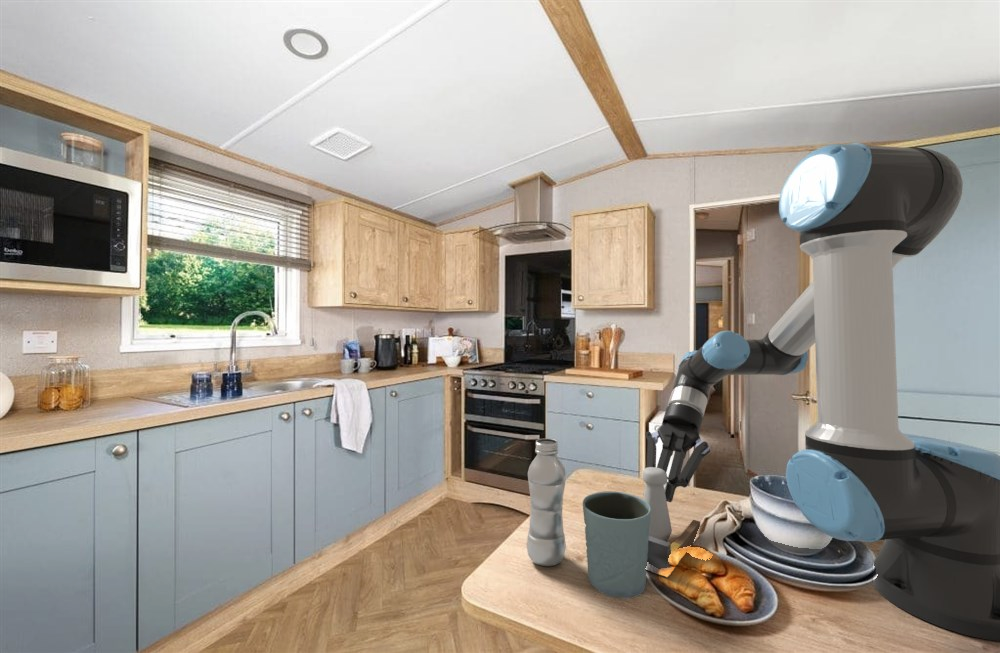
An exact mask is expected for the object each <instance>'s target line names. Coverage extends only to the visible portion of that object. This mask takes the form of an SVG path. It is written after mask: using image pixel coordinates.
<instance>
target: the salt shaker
mask: <svg viewBox="0 0 1000 653" xmlns="http://www.w3.org/2000/svg"><path fill="white" fill-rule="evenodd" d="M646 467H647V466H646ZM646 467H645V468H644V469H643V470H642V481H643V482H644V483H645V486H644V490H643V491H644V492H643V497H642V499H643V500H644V501H646V502H647V503H648V504H649V505H650V507H651V518H650V527H649V536H651V537H654V538H657V539H660V540H663V541H666V542H668V540H669V538H670V536H671V535H672V532H673V529H672V523H671V518H670V513H669V512H670V511H669V508H668V502H667V501H666V495H665V490H664V484H666V483H667V482H668V479H667V477H668V474H667V472H665V471H664V470H663V469H660V468H657V466H656V467H647V468H646Z"/></svg>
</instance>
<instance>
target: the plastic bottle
mask: <svg viewBox="0 0 1000 653" xmlns="http://www.w3.org/2000/svg"><path fill="white" fill-rule="evenodd" d="M558 442H559V441H558V440H557V439H555V438H554V439H553V438H539V439H537V440H535V450H534V452H535V454H536V456H535V457H534V459H533V460H532V461H531V463H530V464H529V467H528V470H527V481H528V488H529V496H530V497H529V498H530V500H529V501H530V502H529V504H530V515H529V516H530V518H529V528H528V534H527V539H526V549H527V550H526V552H527V556H528V557H529V559H530V560H531V561H532V563H534V564H536V565H537V566H542V567H552V566H556V565H558V564H560V563H561V562H562V560H563V559H564V557H565V555H566V550H567V549H566V548H567V542H566V536H565V532H564V520H563V519H564V518H563V508H564V507H563V505H564V504H563V503H564V493H565V487H566V480H567V472H566V467H565V466H564V464H563V462H562V461H561V459H560V458H559V457H558V454H559V448H558V447H559V446H558V445H559V444H558Z"/></svg>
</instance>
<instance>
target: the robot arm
mask: <svg viewBox="0 0 1000 653" xmlns="http://www.w3.org/2000/svg"><path fill="white" fill-rule="evenodd" d="M963 184H964V182H963V177H962V175H961V171H960V169H959V168H958V166H957V164H956V163H955V162H954V161H953V160H952V159H951V158H949V157H948V156H947V155H945V154H943V153H942V152H939V151H936V150H934V149H930V148H926V147H925V148H924V147H900V146H899V147H898V146H886V145H885V146H884V145H867V144H864V143H861V142H853V143H852V142H851V143H847V144H846V143H845V144H843V143H841V144H840V143H838V144H837V143H835V144H834V143H833V144H828V145H825V146H822V147H819V148H816V149H815V150H813V151H812V152H810V153H808V154H807V155H806V156H805V157H804V158H802V159H800V161H799V162H798V163H797V164H796V165H795V167H794V168H793V170H792V171H791V173H790V174H789V176H788V177H787V178H786V180H785V182H784V184H783V186H782V189H781V192H780V195H779V201H778V214H779V216H780V220H781V221H782V222H784V223H785V225H786V227H788V228H789V229H791V230H793V231H795V232H799V234H798V236H799V249H800V250H801V251H802V252H804V253H805V254H807V255H808V256H809V257H810V258H811V259H812V276H813V280H812V281H811V283H810V284H809V285H808V286H807V287H806V288H805V290H804V291H803V292H802V293H801V294H800V296H799V297H797V299H796V300H794V302H793V303H792V305H791V306H790V307H789V308H788V309H787V310H786V312H785V313H784V314H783V315H782V316H781V317H780V318H779V319H778V320H777V322H775V324H774V325H773V326H772V328H771V329H769V331H768V332H767V333H766V334H765V335H764V336H763V337H762V338H761V339H745V338H744V337H743V336H742V335H741V334H739V333H736V332H734V331H732V330H723V331H722V330H721V331H720V332H719V331H718V332H717V333H715V335H713V336H712V337H710V338H708V340H706V341H705V342H704V344H703V345H702V346H701V347H700V348H698V350H692V351H687V352H686V353H685V354H684V355H683V356H682V359H681V361H680V363H679V364H678V369H677V373H676V376H675V379H674V383H673V387H672V391H671V392H670V393H671V394H670V395H669V399H668V402H667V407H666V409H665V412H664V415H663V418H662V423H661V424H660V426H659V427H658V429H657V430H656V431H654V432H650V431H646V432H645V433H644V434H645V437H646V440H647V448H646V451H647V452H646V466H645V468H647V467H656V468H660V469H663V470H664V471H665V472H666V473H667V472H668V468H669V465H670V460H671V457H672V456H673V458H672V462H671V466H670V470H669V473H668V475H667V483H666V484H664V490H665V495H666V501H667V503H672V502H673V500H674V495H675V492H676V489H677V488H678V487H682V488H687V487H688V485H689V484H690V481H691V480H692V479H693V476H694V474H695V473H696V471H697V469H698V467H699V465H700V463H701V462H702V460H703V458H704V457H706V456H707V455H708V454H709V453H710V452H711V448H710V446H709V443H708V442H707V441H703V440H702V439H701V436H700V431H701V429H702V424H703V418H704V417H705V416H704V415H705V413H706V412H705V411H706V408H707V405H708V401H709V396H710V393H711V389H712V388H713V386H714V385H716V384H717V383H719V382H720V381H722V380H723V379H725V377H727V376H748V375H749V376H753V375H755V376H757V375H758V376H759V375H763V376H764V375H767V376H768V375H769V376H770V375H775V376H785V375H791V374H792V375H793V374H799V373H800V372H802V371H803V370H805V368H806V367H807V362H808V361H809V353H808V352H809V351H808V350H810V348H812V347H813V346H814V345H815V346H814V347H815V374H816V375H815V376H816V378H815V379H816V381H815V382H816V404H817V406H816V408H817V409H816V410H817V412H816V413H817V421H816V423H814V424H813V425H812V426H810V427H809V428H808V429H806V430H805V432H804V433H805V436H804V438H805V441H804V442H805V443H804V445H805V447H804V448H805V449H803V450H800V451H798V452H795V453H794V454H793V455H792V457H791V458H790V459H789V460H788V462H787V465H786V469H785V470H786V471H785V478H786V482H787V483H786V485H787V487H788V491H789V494H790V496H791V498H792V500H793V502H794V503H795V505H796V507H797V508H798V510H800V511H801V513H802V515H803V517H805V519H806V520H807V521H808V522H809V523H810V524H811V525H813V527H815V528H816V529H817V530H819V531H820V532H821V533H823V534H825V535H827V536H829V537H831V538H833V539H836V540H840V541H845V542H846V541H847V542H862V543H863V542H865V543H875V542H877V541H883V542H882V545H881V546H880V549H879V551H878V552H877V555H875V556H876V557H875V558H874V560H873V562H874V566H875V568H876V574H878V576H877V578H876V579H875V581H874V582H873V583H872V585H873V587H874V588H875V589H876V590H877V592H878V593H879V594H880V596H883V598H885V599H886V600H887V601H889V602H891V603H892V604H893V605H895V606H897V607H898V608H900V609H901V610H903V611H905V612H907V613H909V614H911V615H912V616H915V617H917V618H919V619H921V620H923V621H926V622H927V623H929V624H933V625H935V626H937V627H940V628H943V629H945V630H949V631H951V632H954V633H958V634H962V635H966V636H969V637H973V638H978V639H983V640H988V641H995V642H996V641H997V642H1000V455H999V454H997V453H995V452H994V451H990V450H988V449H984V448H982V447H981V448H980V447H977V446H973V445H969V444H963V443H960V442H955V441H949V440H945V439H940V438H934V437H931V436H930V437H929V436H923V435H917V434H910V433H903V432H902V431H901V430H900V428H899V409H898V408H899V407H898V406H899V405H898V379H897V377H898V376H897V357H896V356H897V353H896V351H897V350H896V328H895V327H896V325H895V324H896V323H895V322H896V321H895V302H894V301H895V299H894V298H895V297H894V294H895V293H894V270H893V268H894V267H896V266H897V264H898V263H900V261H902V260H903V259H905V258H910V257H912V258H913V257H916V256H918V255H919V254H920V253H921V252H922V251H923V250H924V249H925V248H926V247H928V245H930V243H932V241H934V239H936V238H937V237H938V236H939V234H940V233H941V232H942V231H943V230H944V229H945V227H946V226H947V225H948V223H949V222H950V220H951V219H952V217H954V215H955V212H956V211H957V208H958V206H959V204H960V202H961V199H962V194H963V188H964V187H963ZM659 438H660V440H661V442H662V449H661V452H660V455H659V460H658V462H657V444H658V442H659ZM694 447H695V448H694ZM692 448H694V449H693V451H692V453H691V454H690V456H689V457H688V459H687V461H686V463H685V465H684V460H685V458H686V456H687V452H688V451H690V450H691V449H692ZM683 465H684V467H683Z"/></svg>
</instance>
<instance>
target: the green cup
mask: <svg viewBox="0 0 1000 653" xmlns="http://www.w3.org/2000/svg"><path fill="white" fill-rule="evenodd" d="M582 510H583V521H584V524H585V526H584V527H585V528H584V533H585V547H586V558H587V559H586V562H587V576H588V580H589V582H590V584H591V586H592V587H593V588H594V589H595V590H597V591H598V592H599V593H602V594H604V595H606V596H609V597H612V598H616V599H617V598H618V599H632V598H636V597H638V596H640V595H642V594H643V592H644V591H645V588H646V584H647V582H646V581H647V571H646V569H645V568H646V566H647V559H648V556H647V554H648V541H649V527H650V518H651V507H650V505H649V504H648V503H647V502H646V501H644V500H643V498H641V497H639V496H637V495H634V494H630V493H627V492H623V491H616V490H615V491H613V490H609V491H608V490H606V491H598V492H594V493H590V494H588V495H587V496H585V497H584V498H583V499H582Z"/></svg>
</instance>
